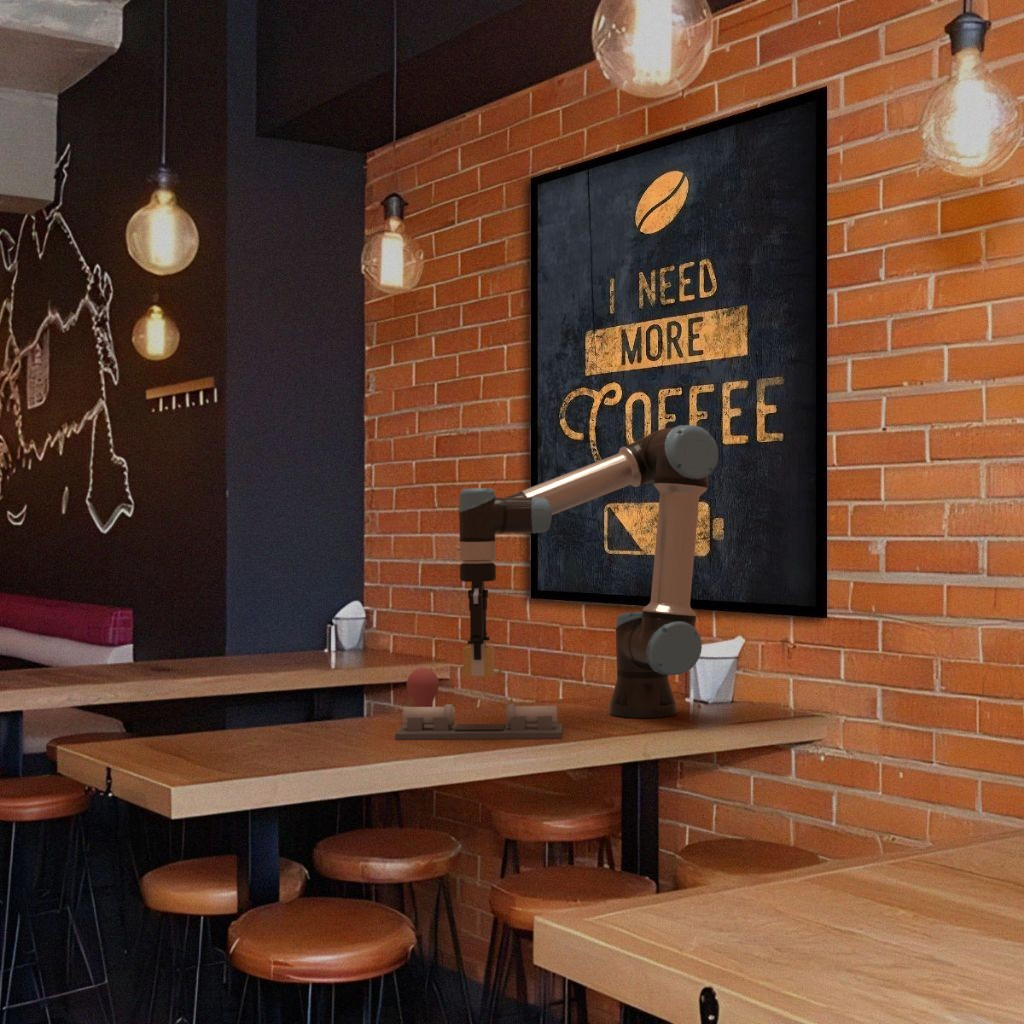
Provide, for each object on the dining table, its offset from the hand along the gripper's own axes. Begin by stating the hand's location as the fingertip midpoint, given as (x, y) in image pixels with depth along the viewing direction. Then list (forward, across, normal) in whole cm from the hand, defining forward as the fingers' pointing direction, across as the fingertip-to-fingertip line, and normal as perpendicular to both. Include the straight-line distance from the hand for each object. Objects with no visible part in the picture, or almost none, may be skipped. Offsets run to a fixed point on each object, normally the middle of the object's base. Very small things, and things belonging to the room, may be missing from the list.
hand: (479, 673), depth 278 cm
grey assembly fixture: (+13, 0, 0) cm, 13 cm away
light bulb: (+13, -17, -14) cm, 25 cm away
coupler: (0, 0, 0) cm, 0 cm away
